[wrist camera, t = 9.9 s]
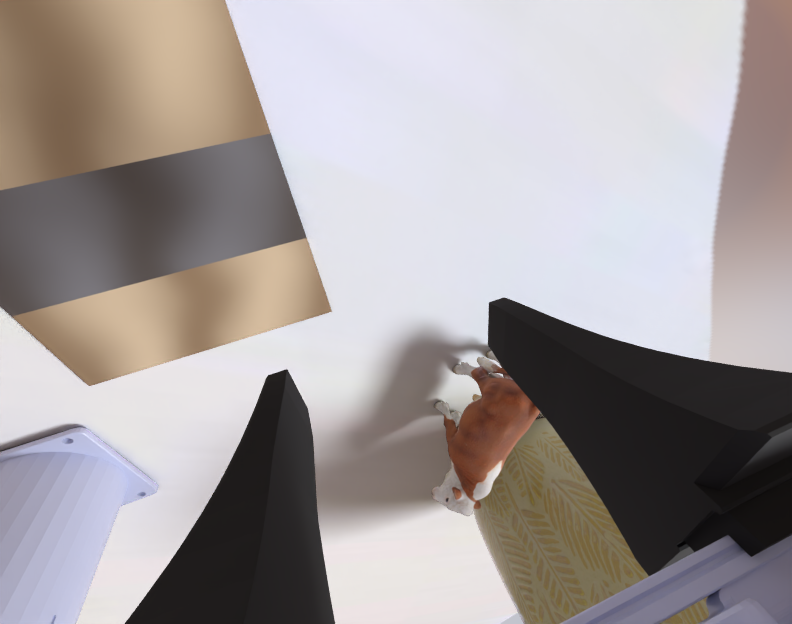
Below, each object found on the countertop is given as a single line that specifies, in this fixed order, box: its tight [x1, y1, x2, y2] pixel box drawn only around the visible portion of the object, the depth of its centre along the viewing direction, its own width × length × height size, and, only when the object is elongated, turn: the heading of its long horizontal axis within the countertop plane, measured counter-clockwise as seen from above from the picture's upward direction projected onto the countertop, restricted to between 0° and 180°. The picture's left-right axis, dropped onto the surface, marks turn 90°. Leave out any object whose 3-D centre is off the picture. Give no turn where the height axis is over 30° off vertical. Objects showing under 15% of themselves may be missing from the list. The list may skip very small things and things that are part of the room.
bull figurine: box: [432, 350, 540, 516], centre depth 26 cm, size 4×13×8 cm, turn 154°
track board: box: [0, 0, 332, 386], centre depth 13 cm, size 14×20×1 cm
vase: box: [473, 418, 709, 624], centre depth 29 cm, size 17×17×27 cm
